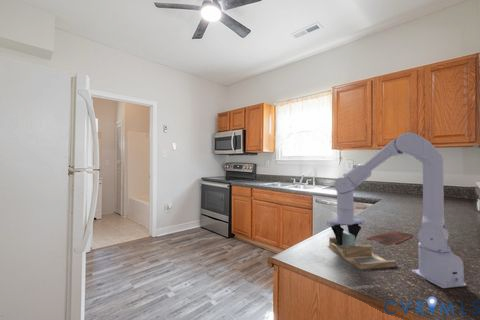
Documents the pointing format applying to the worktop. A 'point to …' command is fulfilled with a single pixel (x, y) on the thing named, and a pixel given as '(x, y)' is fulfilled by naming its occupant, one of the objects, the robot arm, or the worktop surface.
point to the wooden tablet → (390, 237)
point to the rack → (360, 255)
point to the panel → (347, 240)
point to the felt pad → (366, 260)
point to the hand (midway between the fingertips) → (345, 244)
